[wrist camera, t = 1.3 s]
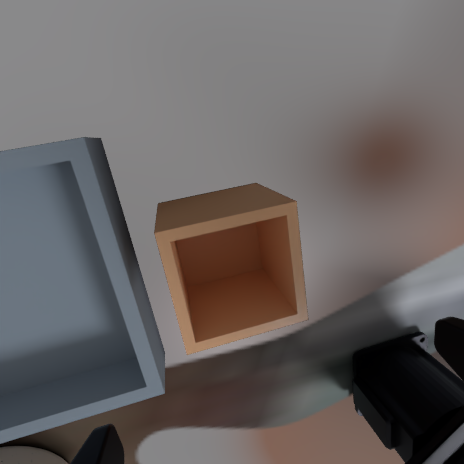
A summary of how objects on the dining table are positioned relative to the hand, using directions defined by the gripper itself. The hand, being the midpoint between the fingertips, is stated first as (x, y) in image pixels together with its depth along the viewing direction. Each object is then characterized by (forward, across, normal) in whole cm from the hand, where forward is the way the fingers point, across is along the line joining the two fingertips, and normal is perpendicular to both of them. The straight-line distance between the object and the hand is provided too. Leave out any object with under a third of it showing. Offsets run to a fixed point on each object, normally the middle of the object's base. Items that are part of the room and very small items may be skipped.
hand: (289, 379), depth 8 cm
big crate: (+12, +12, 0) cm, 17 cm away
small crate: (+12, 0, 0) cm, 12 cm away
